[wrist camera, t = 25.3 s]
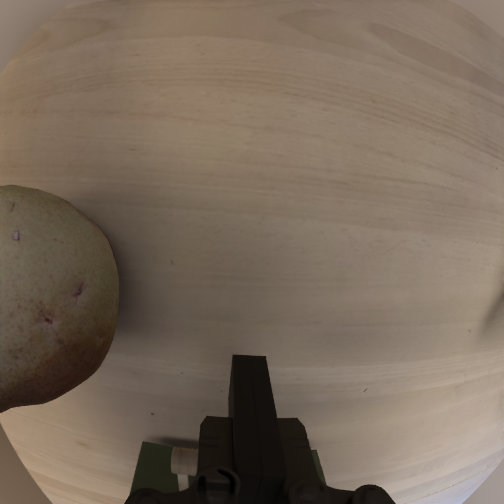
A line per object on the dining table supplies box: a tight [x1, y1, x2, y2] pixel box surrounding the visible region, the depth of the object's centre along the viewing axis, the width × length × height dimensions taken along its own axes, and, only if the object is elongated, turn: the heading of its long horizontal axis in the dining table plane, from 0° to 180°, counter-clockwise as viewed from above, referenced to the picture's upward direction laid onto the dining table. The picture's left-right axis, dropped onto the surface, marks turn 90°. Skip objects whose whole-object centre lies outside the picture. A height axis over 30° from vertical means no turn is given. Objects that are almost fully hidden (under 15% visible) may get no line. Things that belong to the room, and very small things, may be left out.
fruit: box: [0, 185, 119, 413], centre depth 10 cm, size 10×9×12 cm
